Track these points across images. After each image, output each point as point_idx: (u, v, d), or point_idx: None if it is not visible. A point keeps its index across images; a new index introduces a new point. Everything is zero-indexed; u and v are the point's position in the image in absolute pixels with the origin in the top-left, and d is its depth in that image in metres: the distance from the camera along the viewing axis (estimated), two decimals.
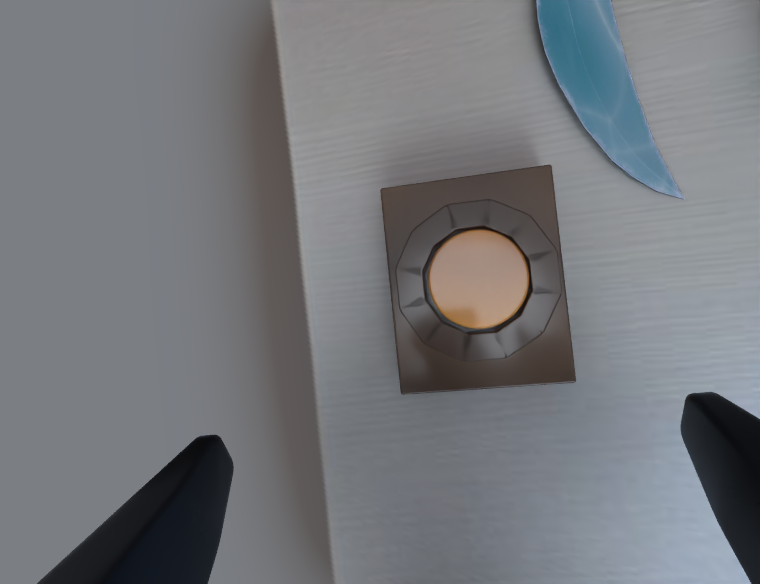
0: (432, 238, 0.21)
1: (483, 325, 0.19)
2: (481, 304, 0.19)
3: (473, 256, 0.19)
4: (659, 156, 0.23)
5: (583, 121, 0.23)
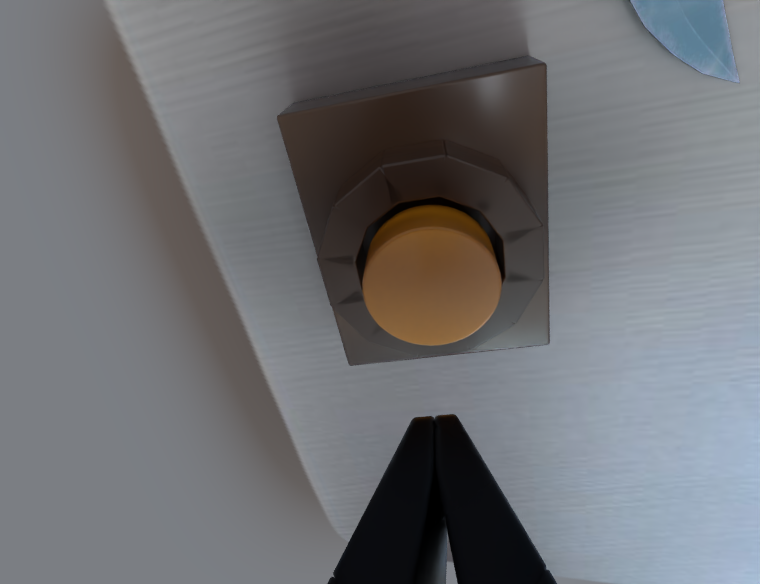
0: (364, 215, 0.14)
1: (440, 343, 0.14)
2: (437, 320, 0.14)
3: (423, 264, 0.13)
4: (721, 12, 0.14)
5: None
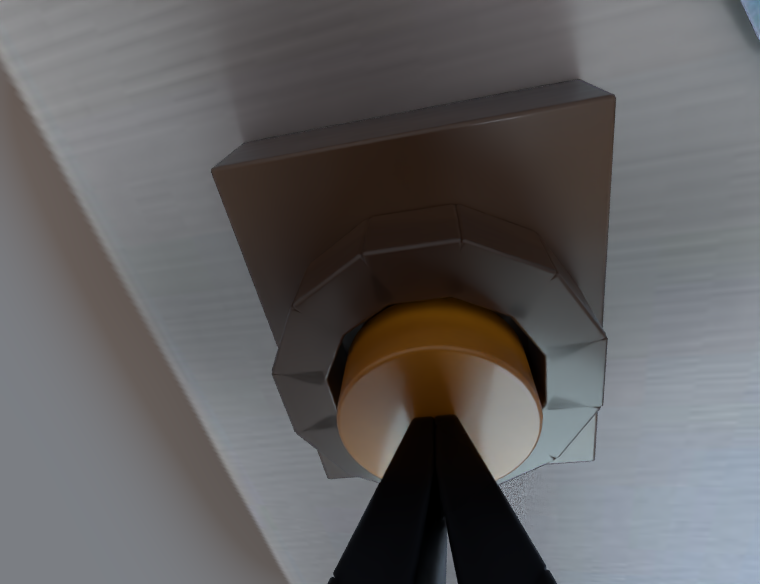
0: (338, 319, 0.09)
1: None
2: None
3: (427, 394, 0.09)
4: None
5: None
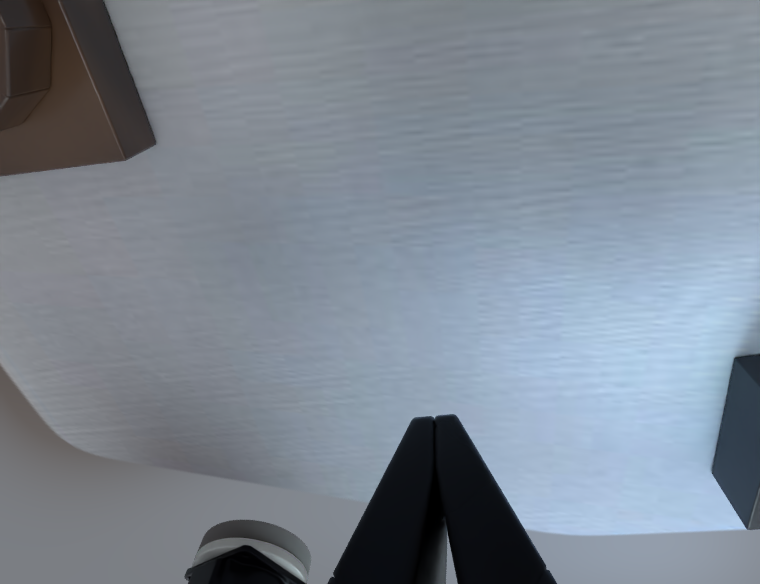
0: None
1: None
2: None
3: None
4: None
5: None
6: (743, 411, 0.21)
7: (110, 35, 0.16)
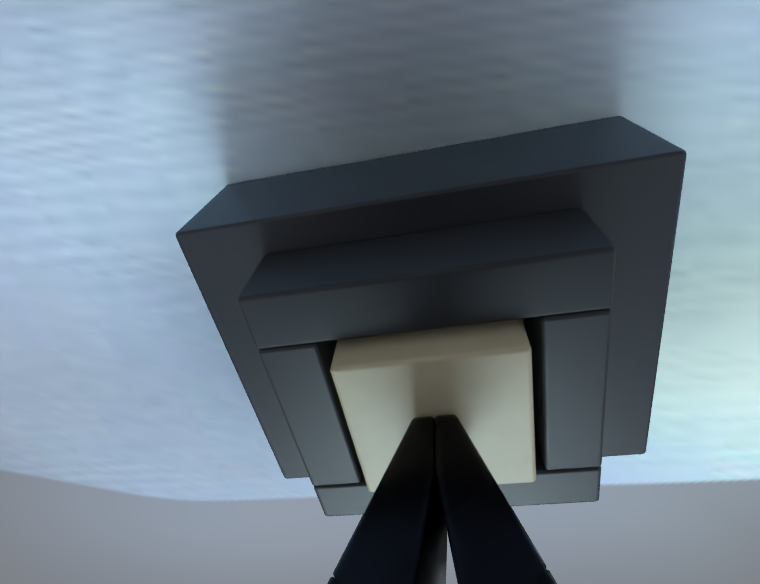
0: None
1: None
2: None
3: None
4: None
5: None
6: None
7: None
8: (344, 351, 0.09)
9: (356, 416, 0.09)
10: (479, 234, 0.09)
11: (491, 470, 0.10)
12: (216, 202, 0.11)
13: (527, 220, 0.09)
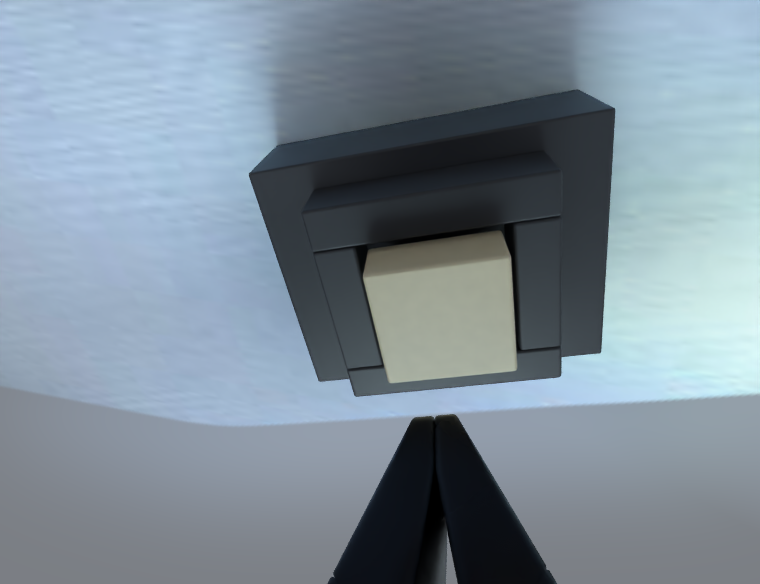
0: None
1: None
2: None
3: None
4: None
5: None
6: None
7: None
8: (372, 265, 0.12)
9: (381, 315, 0.12)
10: (470, 168, 0.12)
11: (483, 360, 0.13)
12: (273, 155, 0.15)
13: (505, 159, 0.12)
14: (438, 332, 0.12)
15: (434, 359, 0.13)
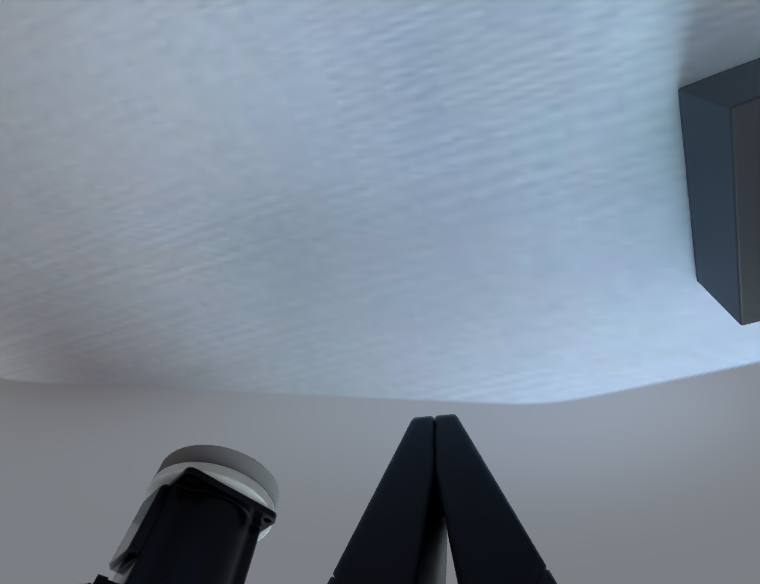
0: None
1: None
2: None
3: None
4: None
5: None
6: (700, 156, 0.16)
7: None
8: None
9: None
10: None
11: None
12: (711, 92, 0.14)
13: None
14: None
15: None
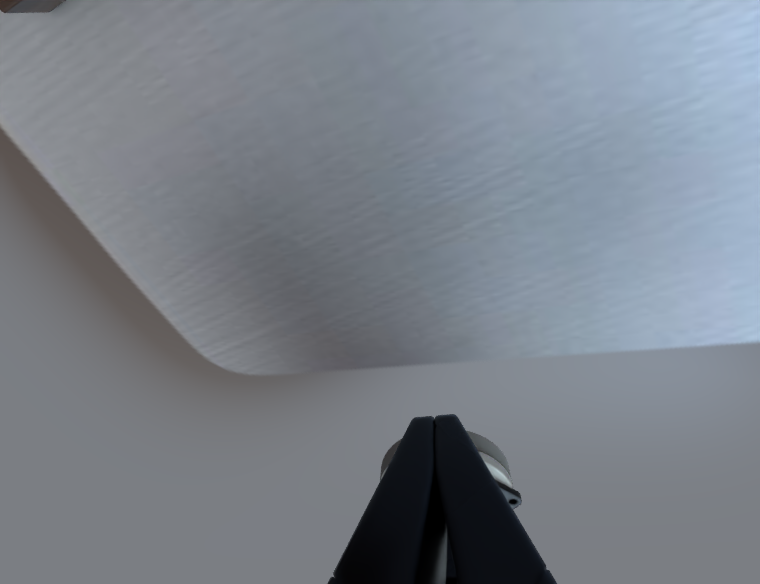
0: None
1: None
2: None
3: None
4: None
5: None
6: None
7: None
8: None
9: None
10: None
11: None
12: None
13: None
14: None
15: None
